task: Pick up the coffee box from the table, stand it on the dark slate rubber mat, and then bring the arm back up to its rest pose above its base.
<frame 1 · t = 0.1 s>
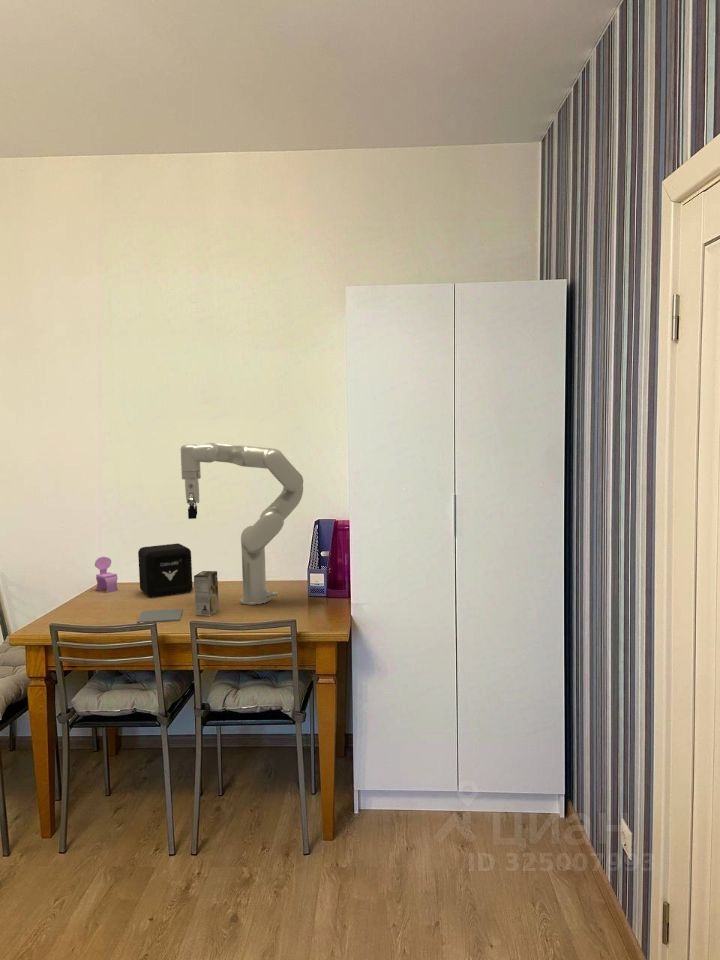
hand: (192, 516, 323), 37 cm above the table, tool pointing down, fingers open, 9 cm apart
coffee box: (207, 613, 314), on the table
toy chair: (106, 591, 355), on the table
black rounded block: (166, 592, 349), on the table
slate mat: (160, 616, 310), on the table
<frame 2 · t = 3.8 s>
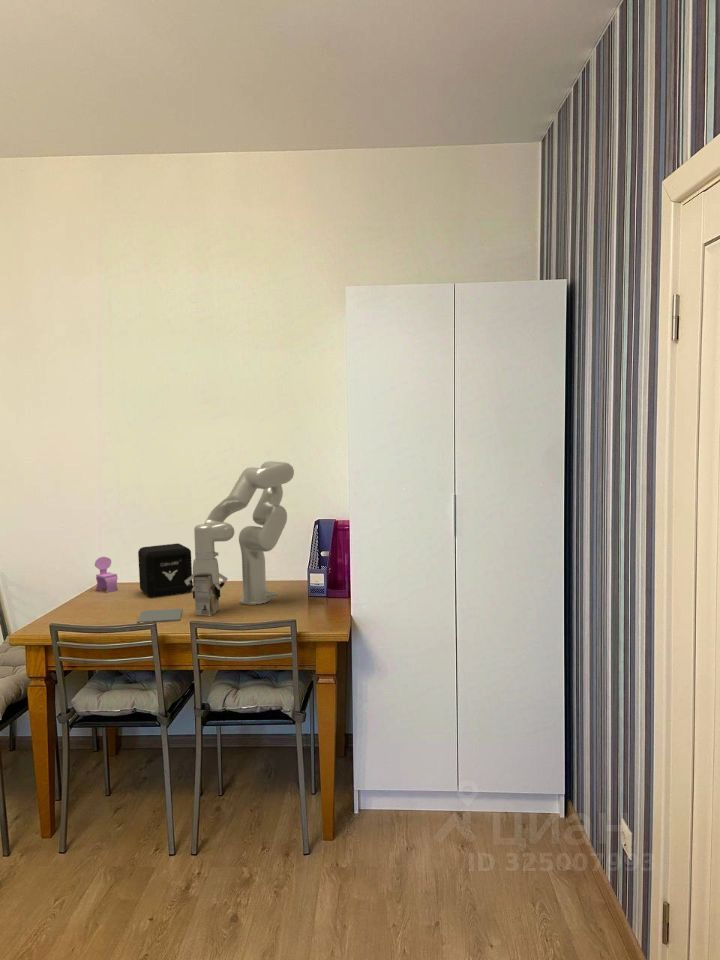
hand: (206, 599, 313), 5 cm above the table, tool pointing down, fingers closed on coffee box, 8 cm apart
coffee box: (207, 613, 314), on the table, touching gripper
everything else where it was.
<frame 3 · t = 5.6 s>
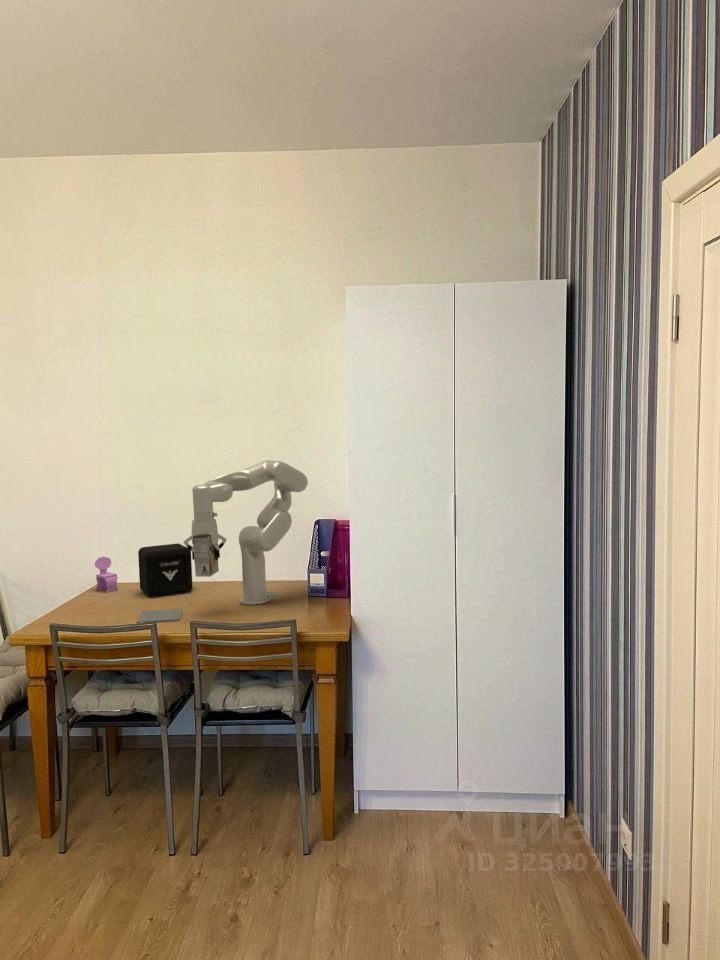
hand: (206, 560, 312), 21 cm above the table, tool pointing down, fingers closed on coffee box, 8 cm apart
coffee box: (207, 574, 313), point 15 cm above the table, touching gripper
everything else where it was.
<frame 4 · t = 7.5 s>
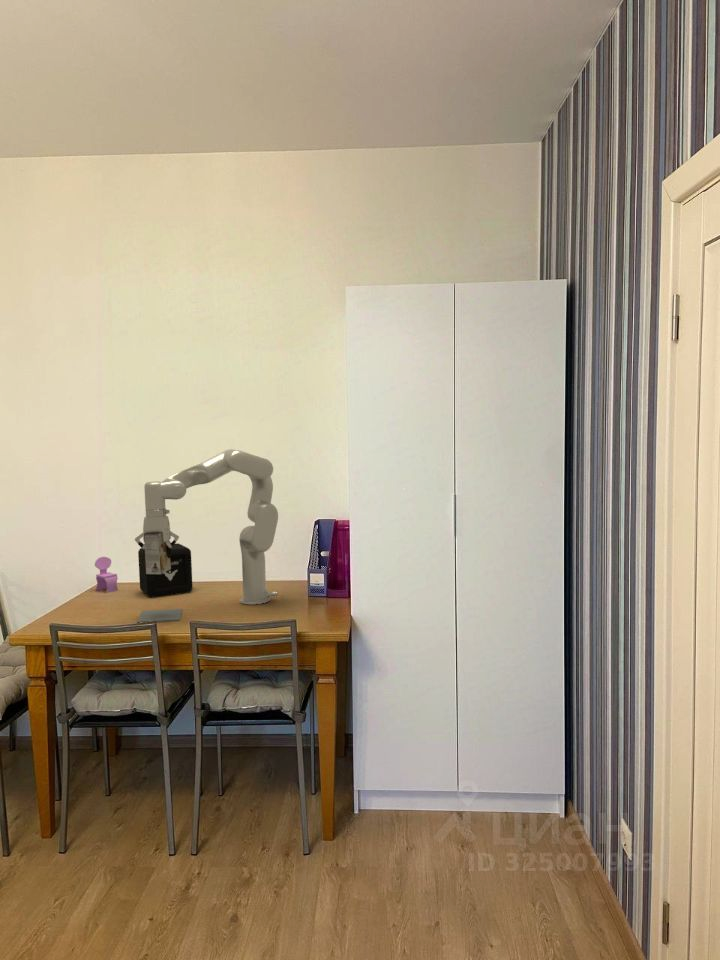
hand: (157, 557, 308), 23 cm above the table, tool pointing down, fingers closed on coffee box, 8 cm apart
coffee box: (158, 572, 308), point 18 cm above the table, touching gripper
everything else where it was.
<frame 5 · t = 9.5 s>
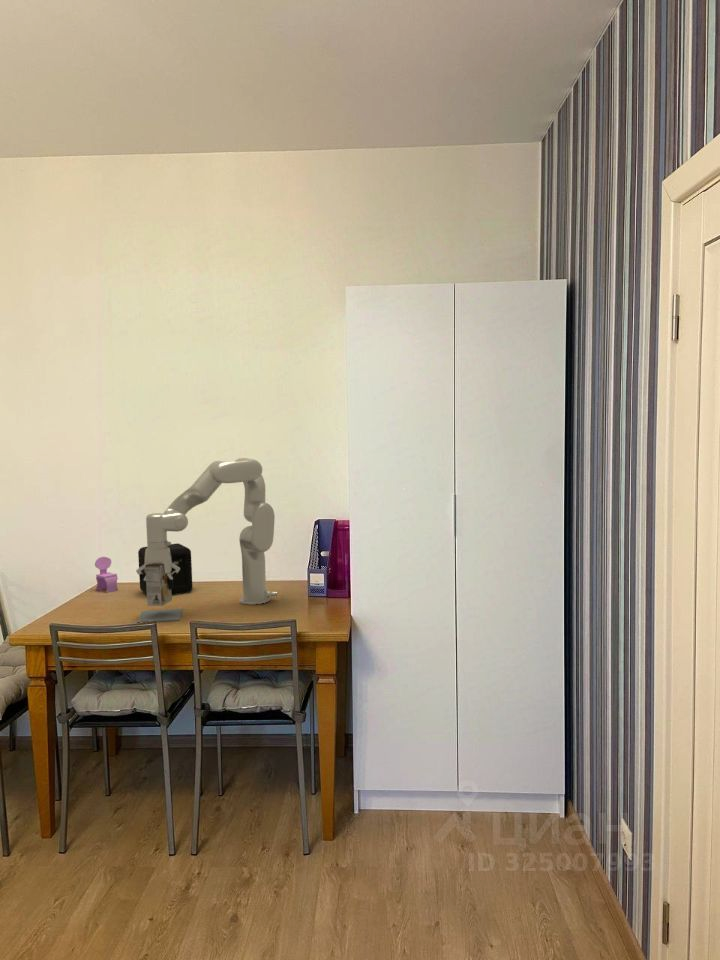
hand: (159, 589, 309), 11 cm above the table, tool pointing down, fingers closed on coffee box, 8 cm apart
coffee box: (159, 603, 310), point 5 cm above the table, touching gripper
everything else where it was.
when the fingers open (7 cm above the table, at t = 11.3 s): coffee box drops 1 cm, resting on slate mat.
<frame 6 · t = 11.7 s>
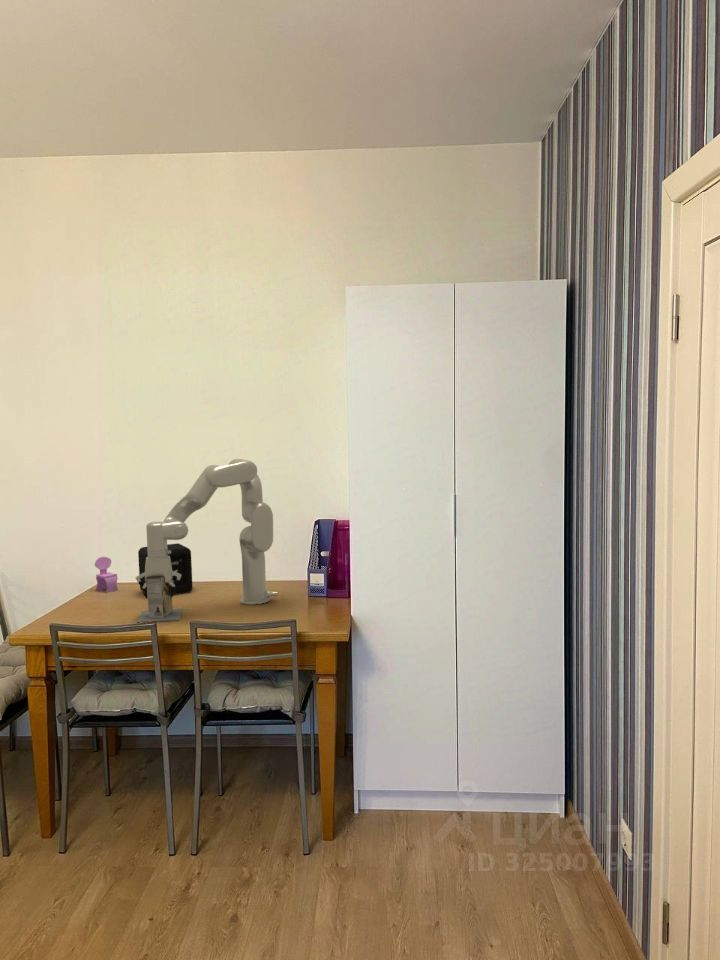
hand: (159, 596, 309), 8 cm above the table, tool pointing down, fingers open, 9 cm apart
coffee box: (160, 615, 310), resting on slate mat
everything else where it was.
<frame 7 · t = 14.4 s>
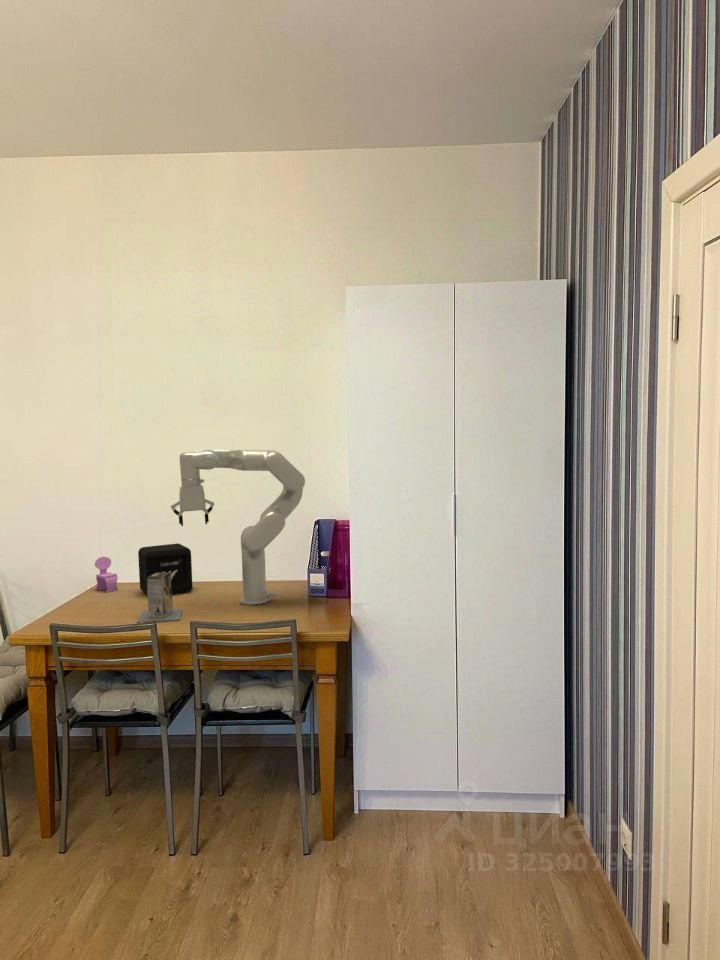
hand: (194, 524, 322), 34 cm above the table, tool pointing down, fingers open, 9 cm apart
nothing on the table moved.
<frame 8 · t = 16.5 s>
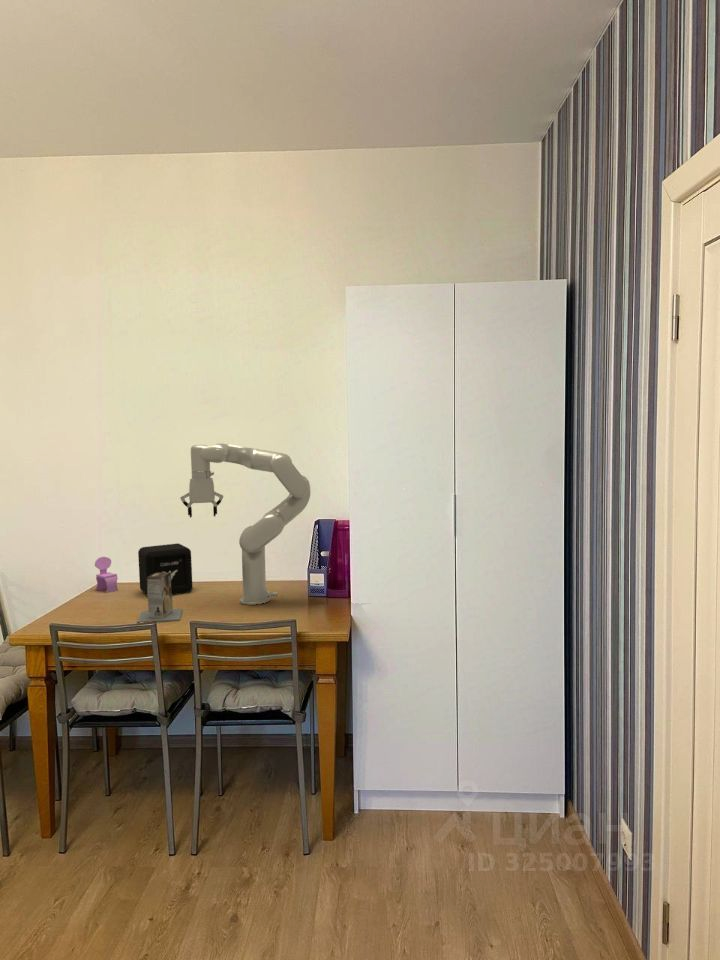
hand: (202, 516, 326), 36 cm above the table, tool pointing down, fingers open, 9 cm apart
nothing on the table moved.
at the end: coffee box inside the target area on the slate mat (0.1 cm from its centre), point 0.4 cm above the slate mat's base; coffee box tilted 0°; the gripper is holding nothing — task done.
